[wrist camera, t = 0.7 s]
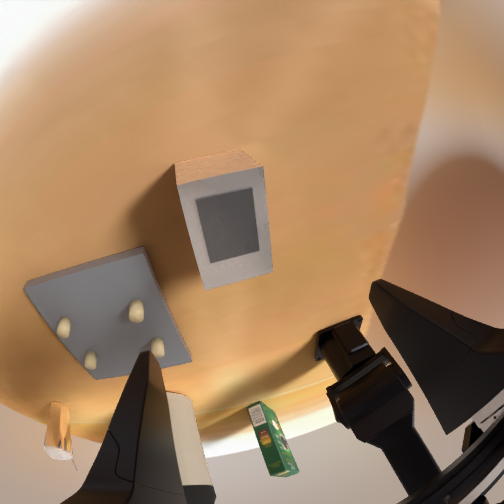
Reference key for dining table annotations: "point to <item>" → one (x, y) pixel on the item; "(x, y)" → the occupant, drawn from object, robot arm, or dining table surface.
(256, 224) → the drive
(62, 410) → the milkshake
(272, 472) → the coffee box
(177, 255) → the dining table surface
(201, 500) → the travel mug
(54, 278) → the pin tray
